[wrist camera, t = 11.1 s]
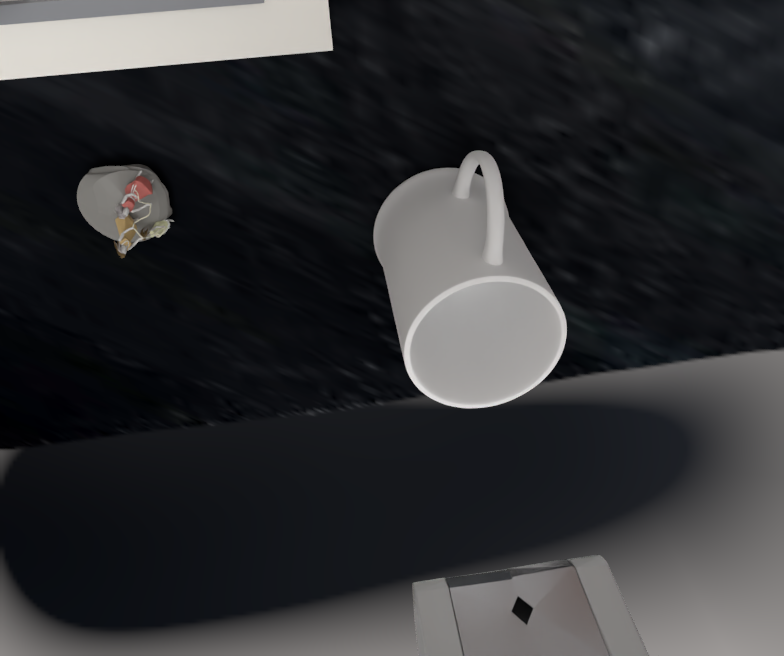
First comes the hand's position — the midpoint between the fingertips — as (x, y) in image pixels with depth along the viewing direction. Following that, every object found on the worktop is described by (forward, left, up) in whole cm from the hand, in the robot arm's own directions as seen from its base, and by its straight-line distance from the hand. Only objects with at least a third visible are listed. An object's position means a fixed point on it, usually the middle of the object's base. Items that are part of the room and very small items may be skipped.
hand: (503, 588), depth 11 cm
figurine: (+13, +6, -31) cm, 34 cm away
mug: (-5, +9, -31) cm, 33 cm away
